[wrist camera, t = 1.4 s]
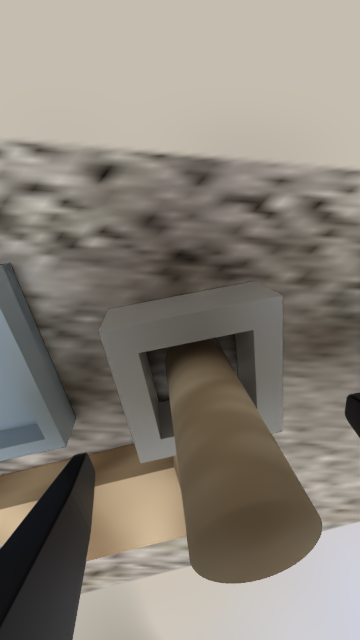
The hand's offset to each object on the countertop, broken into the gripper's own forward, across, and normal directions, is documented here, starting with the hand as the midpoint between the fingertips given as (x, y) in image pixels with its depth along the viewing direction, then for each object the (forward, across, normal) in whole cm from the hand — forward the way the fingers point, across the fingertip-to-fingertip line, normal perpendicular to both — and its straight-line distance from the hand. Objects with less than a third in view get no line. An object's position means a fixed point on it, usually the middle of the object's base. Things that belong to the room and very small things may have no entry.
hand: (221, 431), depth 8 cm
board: (+5, +7, +8) cm, 12 cm away
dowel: (+5, 0, 0) cm, 5 cm away
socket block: (+5, 0, 0) cm, 5 cm away
